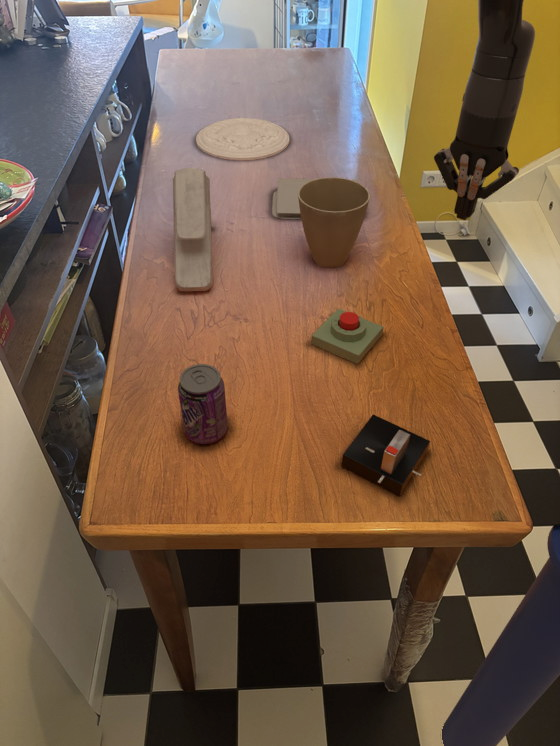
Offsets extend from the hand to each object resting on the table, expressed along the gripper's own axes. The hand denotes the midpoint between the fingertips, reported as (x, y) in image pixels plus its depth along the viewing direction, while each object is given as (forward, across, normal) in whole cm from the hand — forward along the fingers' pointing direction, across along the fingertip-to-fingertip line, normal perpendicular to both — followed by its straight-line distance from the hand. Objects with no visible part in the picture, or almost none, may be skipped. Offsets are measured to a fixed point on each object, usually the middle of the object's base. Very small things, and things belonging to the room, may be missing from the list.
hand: (462, 217), depth 96 cm
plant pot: (+27, +31, -14) cm, 44 cm away
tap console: (+27, -6, +31) cm, 41 cm away
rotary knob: (+24, -7, +32) cm, 41 cm away
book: (+27, +46, -34) cm, 63 cm away
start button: (+23, +14, +8) cm, 28 cm away
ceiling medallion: (+27, +85, -55) cm, 105 cm away
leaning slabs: (+27, +56, +2) cm, 62 cm away
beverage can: (+27, +22, +41) cm, 54 cm away
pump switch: (+27, +14, +8) cm, 31 cm away
